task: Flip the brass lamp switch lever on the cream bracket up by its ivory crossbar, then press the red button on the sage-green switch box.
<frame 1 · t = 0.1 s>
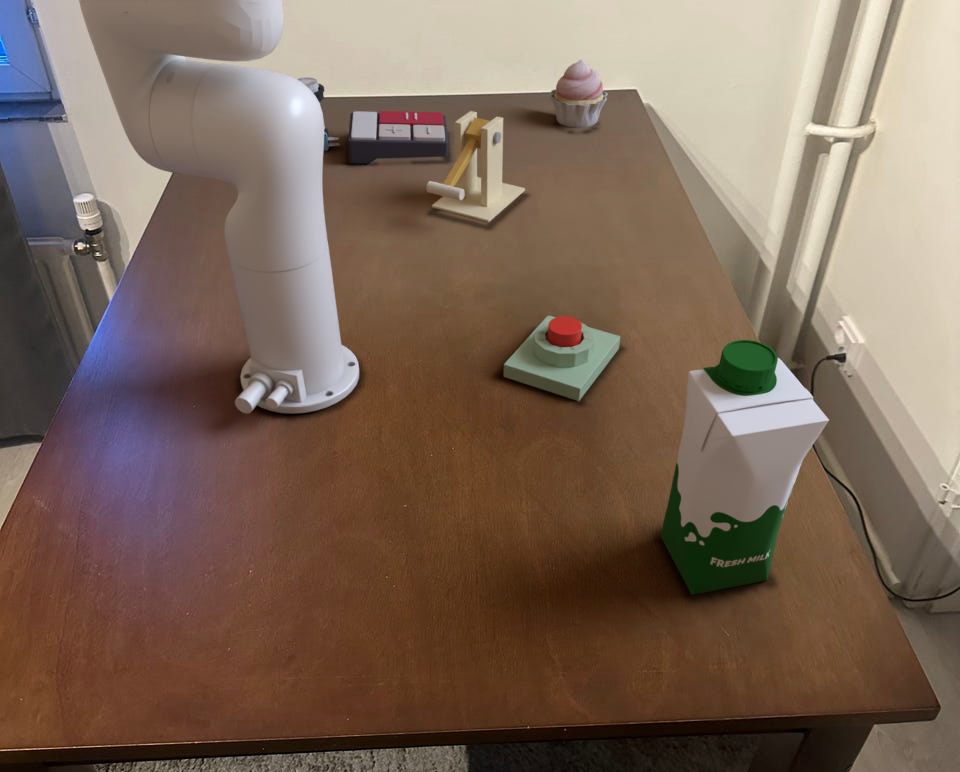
switch bracket: (479, 204, 126), on the table
calculator: (399, 149, 139), on the table
milk carton: (712, 560, 78), on the table
lamp button: (564, 332, 96), point 4 cm above the table, slide at 0.1 cm
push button: (318, 149, 139), on the table
switch lever: (463, 159, 117), point 8 cm above the table, hinge at -25.0°
switch box: (562, 362, 99), on the table
cupcake: (576, 126, 146), on the table
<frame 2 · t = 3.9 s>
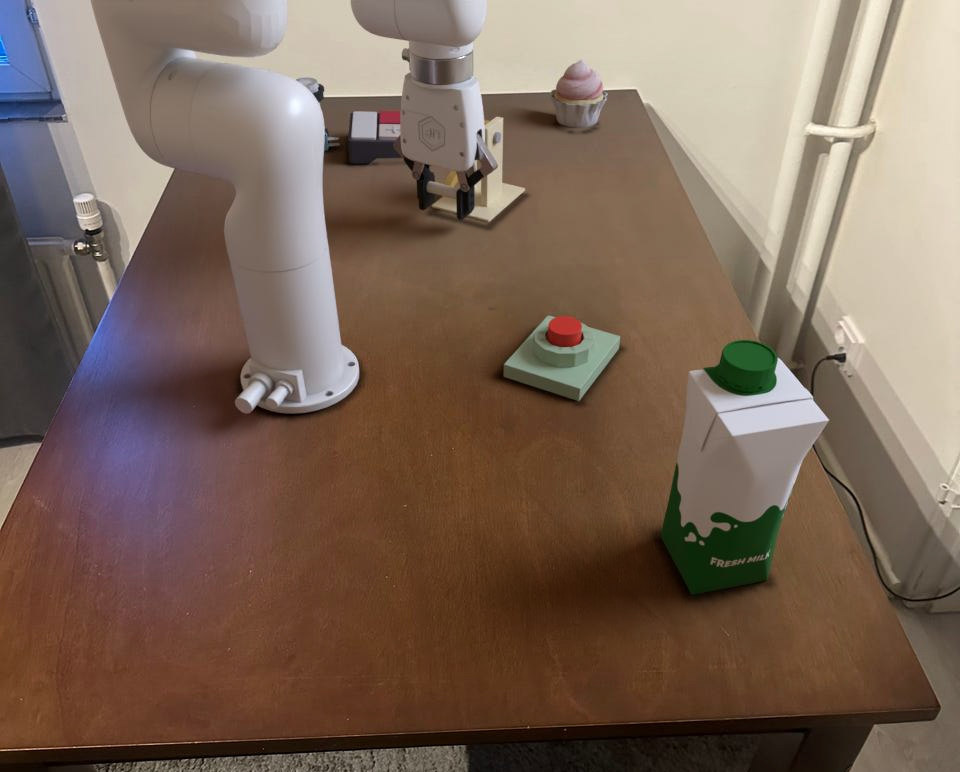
hand: (446, 209, 118), 3 cm above the table, tool pointing down, fingers closed on switch lever, 5 cm apart
switch lever: (463, 159, 117), point 8 cm above the table, hinge at -25.0°, touching gripper
everything else where it was.
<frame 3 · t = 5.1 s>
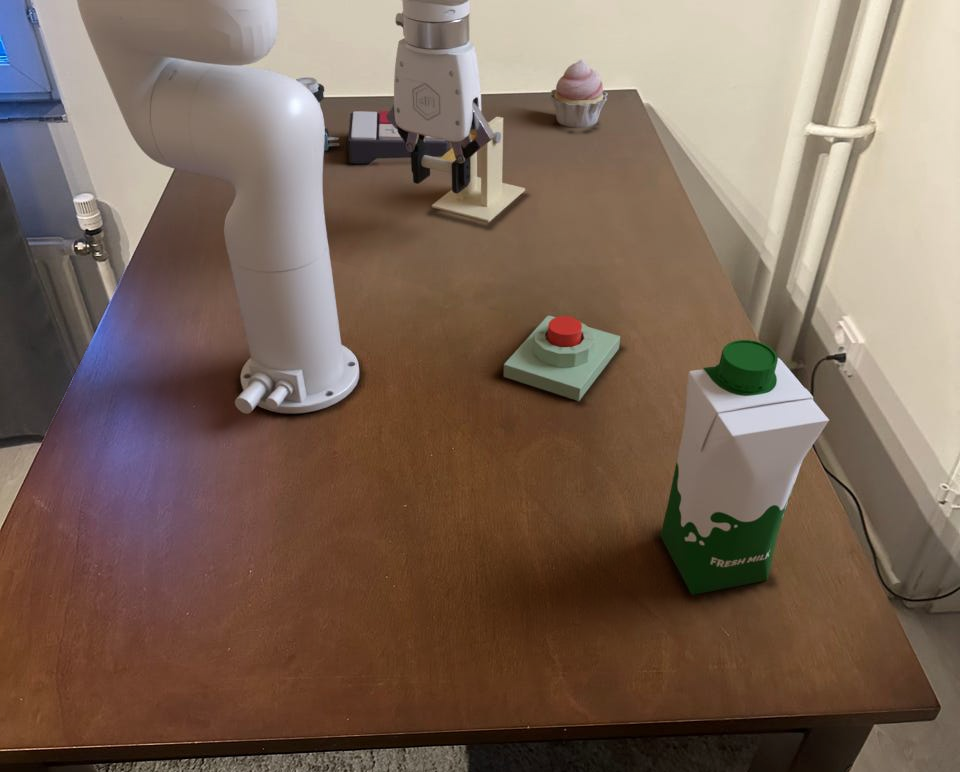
hand: (441, 183, 114), 7 cm above the table, tool pointing down, fingers closed on switch lever, 5 cm apart
switch lever: (461, 147, 116), point 10 cm above the table, hinge at -2.4°, touching gripper
everything else where it was.
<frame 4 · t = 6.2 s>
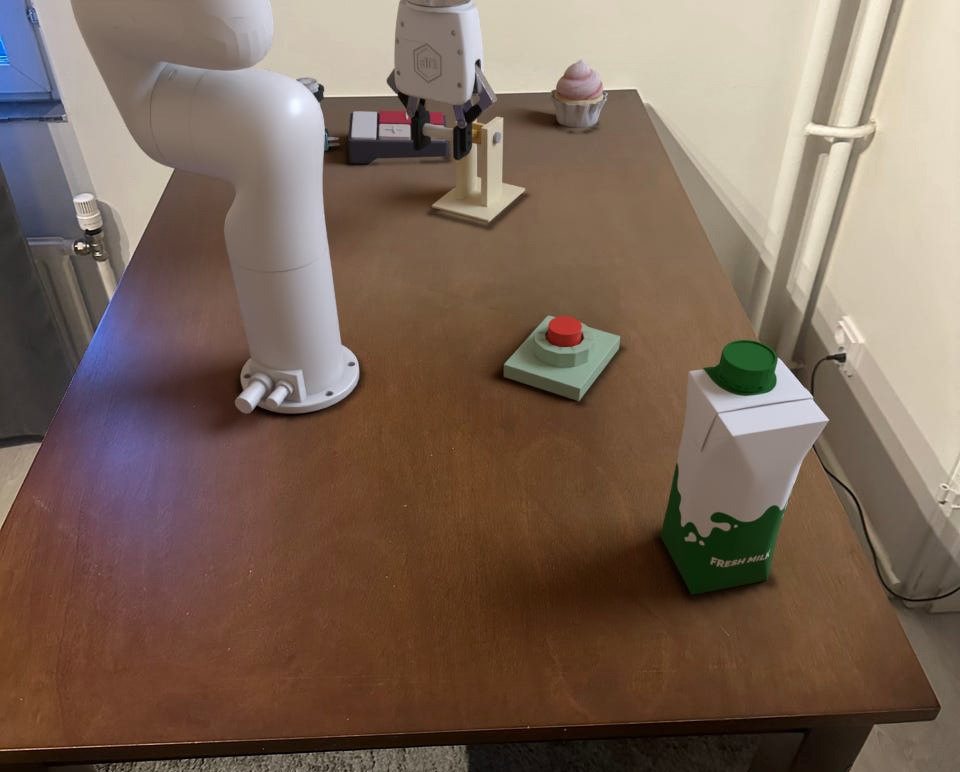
hand: (442, 150, 112), 11 cm above the table, tool pointing down, fingers closed on switch lever, 5 cm apart
switch lever: (462, 133, 115), point 12 cm above the table, hinge at 19.7°, touching gripper
everything else where it was.
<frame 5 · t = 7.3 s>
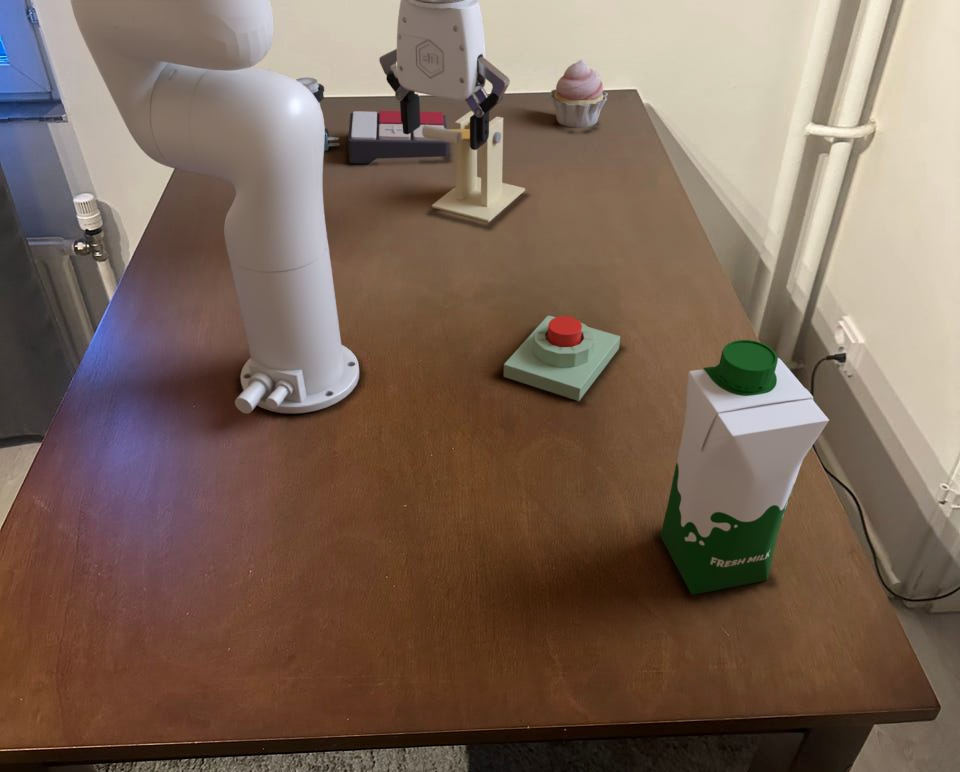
hand: (444, 138, 111), 13 cm above the table, tool pointing down, fingers open, 9 cm apart
switch lever: (462, 133, 115), point 12 cm above the table, hinge at 18.8°
everything else where it was.
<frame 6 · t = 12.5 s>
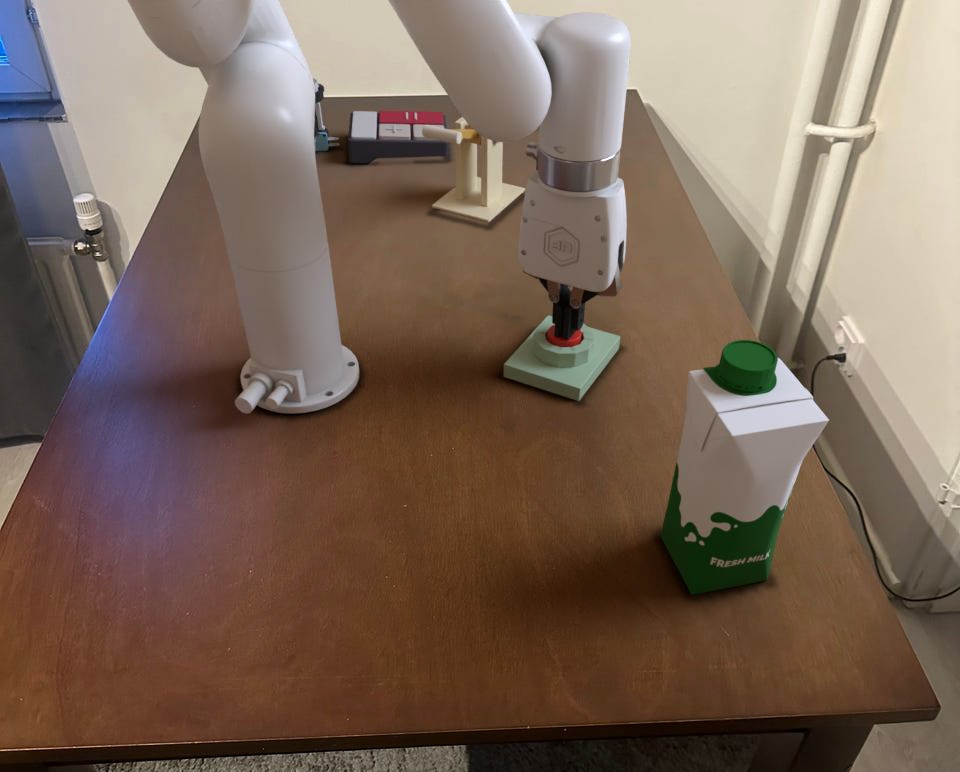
hand: (567, 331, 96), 4 cm above the table, tool pointing down, fingers closed
lamp button: (564, 338, 96), point 3 cm above the table, slide at -0.7 cm, touching gripper
everything else where it was.
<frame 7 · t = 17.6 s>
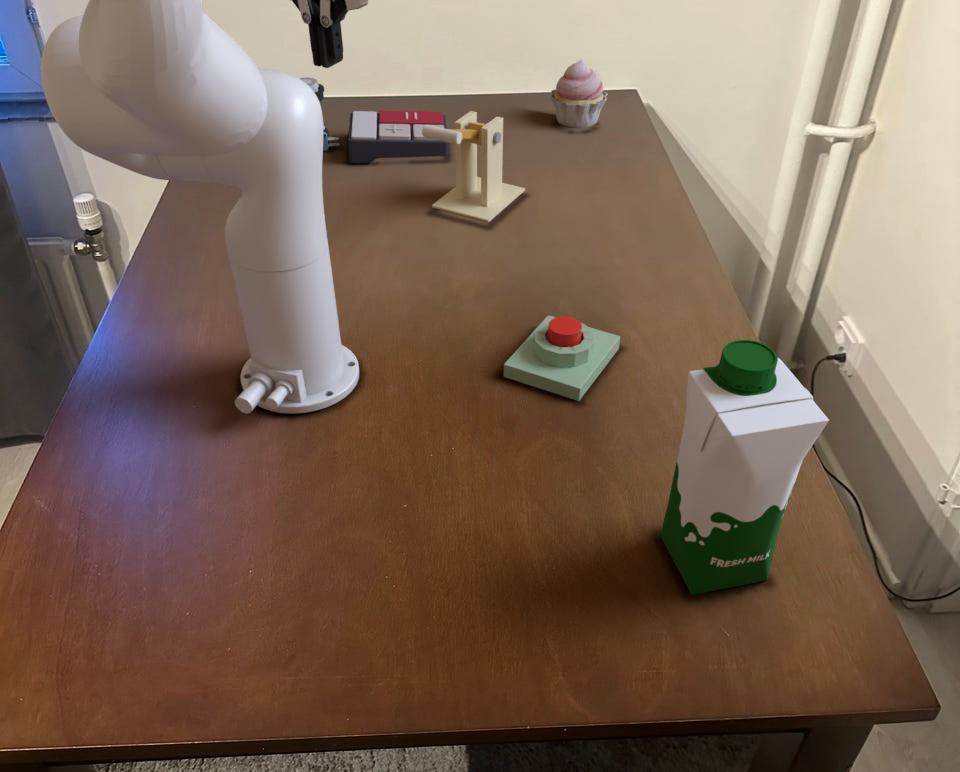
hand: (328, 62, 95), 25 cm above the table, tool pointing down, fingers closed
lamp button: (564, 332, 96), point 4 cm above the table, slide at 0.1 cm
everything else where it was.
at the end: switch lever at +19° (first picture: -25°); lamp button pushed in 1.1 cm at the most during the clip, back to where it started at the end; lamp button slide at 0.1 cm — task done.
